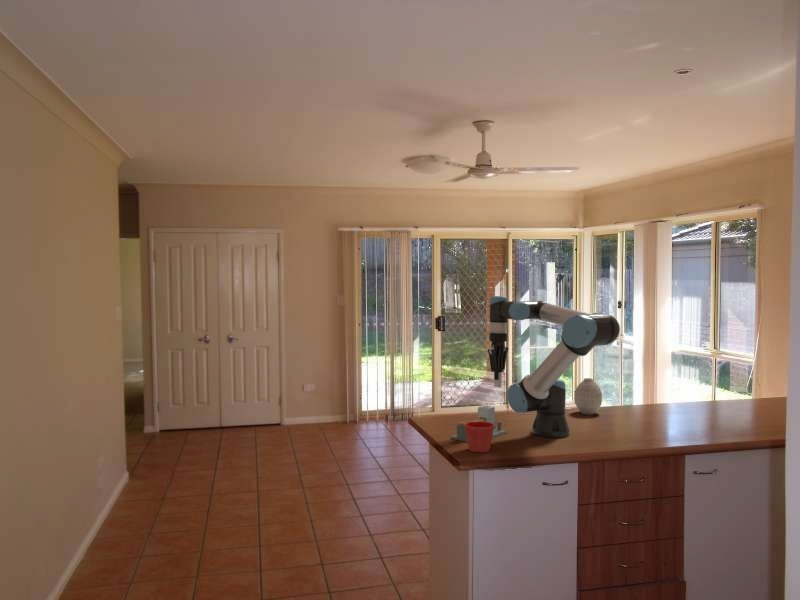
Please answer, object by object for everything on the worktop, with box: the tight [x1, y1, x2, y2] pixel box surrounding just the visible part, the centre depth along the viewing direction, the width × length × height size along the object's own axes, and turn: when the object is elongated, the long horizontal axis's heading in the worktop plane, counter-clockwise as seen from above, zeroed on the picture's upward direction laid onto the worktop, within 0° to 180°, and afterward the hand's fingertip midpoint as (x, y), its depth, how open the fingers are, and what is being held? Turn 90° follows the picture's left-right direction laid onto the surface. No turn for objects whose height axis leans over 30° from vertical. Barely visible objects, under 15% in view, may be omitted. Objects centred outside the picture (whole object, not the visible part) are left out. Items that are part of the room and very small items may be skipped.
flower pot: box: [465, 421, 494, 453], centre depth 238 cm, size 11×11×10 cm
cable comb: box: [450, 418, 508, 443], centre depth 260 cm, size 12×23×7 cm, turn 139°
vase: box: [573, 377, 603, 416], centre depth 305 cm, size 13×13×17 cm
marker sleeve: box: [477, 405, 496, 428], centre depth 265 cm, size 5×5×8 cm
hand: (497, 387), depth 272 cm, fingers closed
